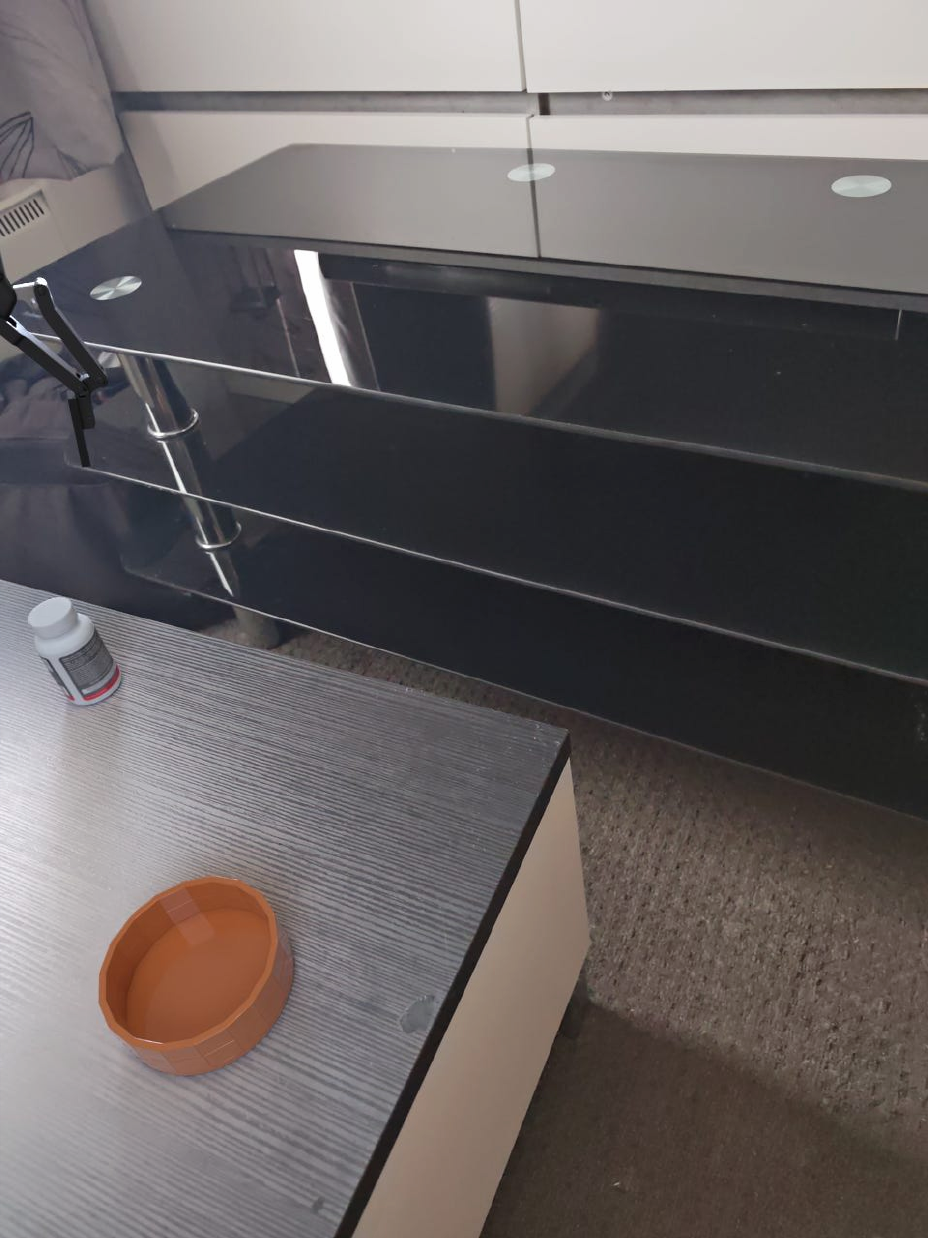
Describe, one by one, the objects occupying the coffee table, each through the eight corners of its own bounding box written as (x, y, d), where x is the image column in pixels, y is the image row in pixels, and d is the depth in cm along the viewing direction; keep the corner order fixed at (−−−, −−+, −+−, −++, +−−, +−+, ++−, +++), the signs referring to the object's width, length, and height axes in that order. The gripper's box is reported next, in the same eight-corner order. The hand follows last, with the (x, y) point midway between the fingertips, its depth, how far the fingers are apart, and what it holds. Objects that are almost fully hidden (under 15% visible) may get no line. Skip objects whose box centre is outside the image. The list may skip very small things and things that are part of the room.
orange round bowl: (86, 1039, 62) (59, 1012, 59) (192, 886, 69) (173, 856, 67) (229, 1106, 57) (207, 1081, 54) (326, 934, 65) (311, 904, 62)
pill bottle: (129, 663, 90) (87, 588, 83) (113, 704, 86) (67, 629, 79) (77, 669, 90) (31, 595, 84) (59, 710, 86) (9, 635, 80)
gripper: (-256, 239, 66) (-155, 508, 77) (110, 223, 74) (152, 468, 85) (-234, 222, 72) (-143, 474, 83) (103, 209, 80) (143, 440, 91)
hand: (7, 472), depth 84 cm, fingers open, 13 cm apart
